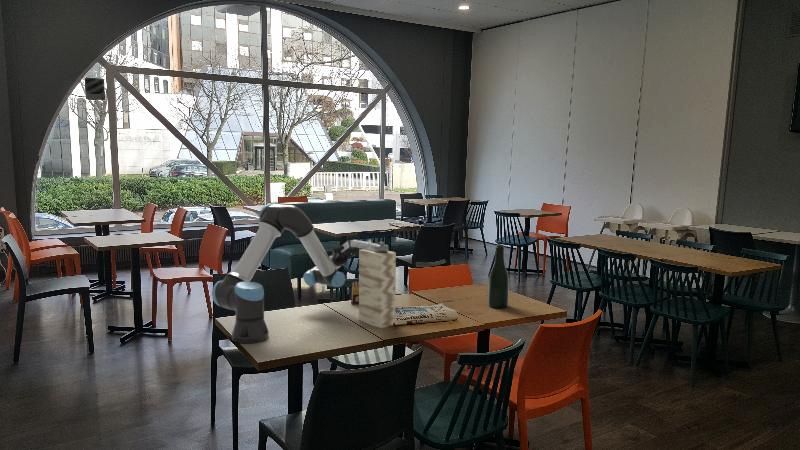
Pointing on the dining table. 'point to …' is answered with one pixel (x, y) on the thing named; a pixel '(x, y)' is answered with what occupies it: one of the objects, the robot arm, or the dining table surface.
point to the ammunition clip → (355, 294)
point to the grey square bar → (370, 246)
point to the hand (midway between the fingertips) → (359, 243)
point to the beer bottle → (498, 281)
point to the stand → (377, 288)
